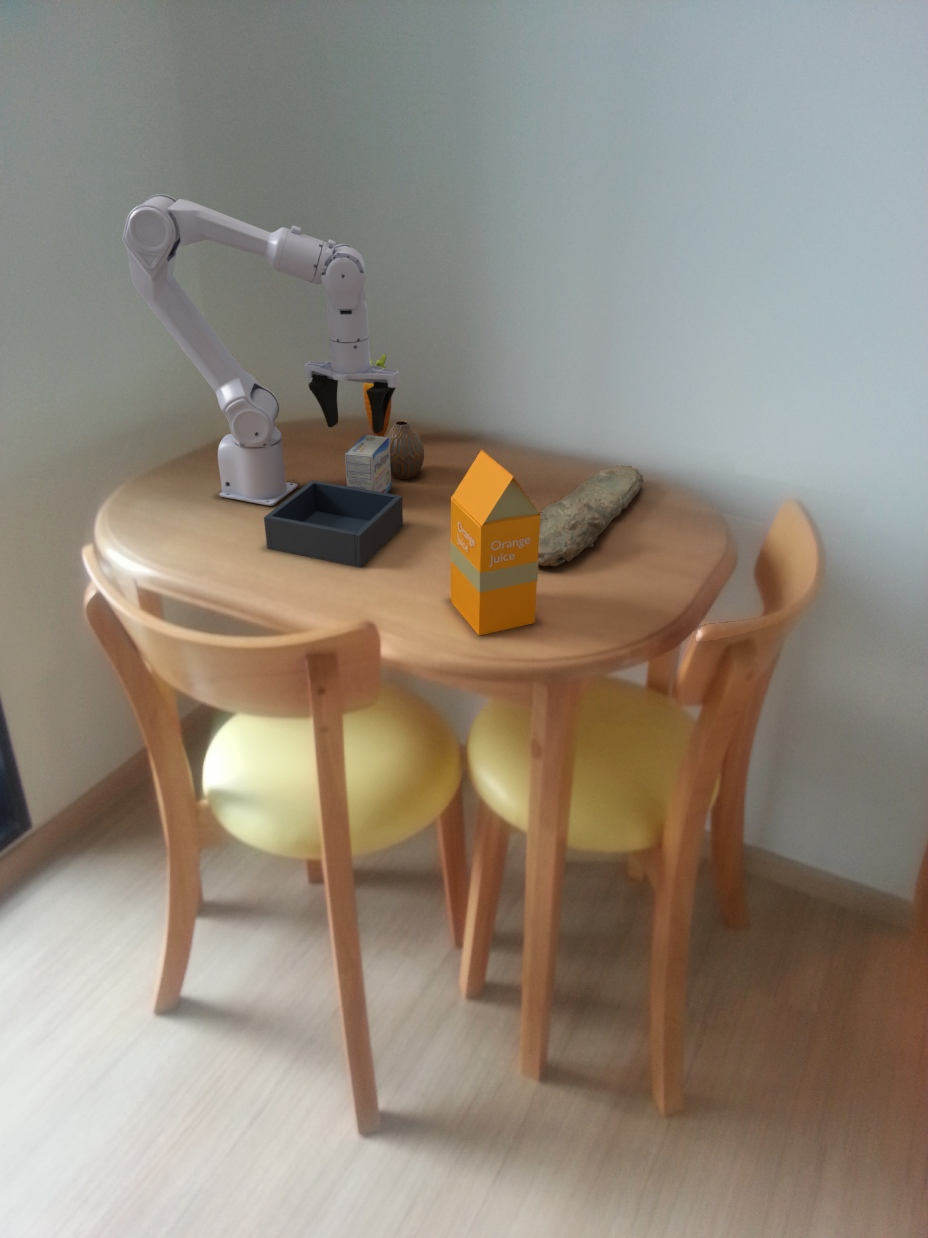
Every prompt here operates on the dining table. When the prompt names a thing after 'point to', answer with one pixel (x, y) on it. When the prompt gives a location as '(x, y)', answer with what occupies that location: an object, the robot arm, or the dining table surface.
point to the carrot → (367, 403)
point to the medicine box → (369, 464)
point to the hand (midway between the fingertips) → (355, 428)
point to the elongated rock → (585, 513)
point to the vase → (405, 450)
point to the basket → (334, 523)
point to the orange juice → (493, 549)
